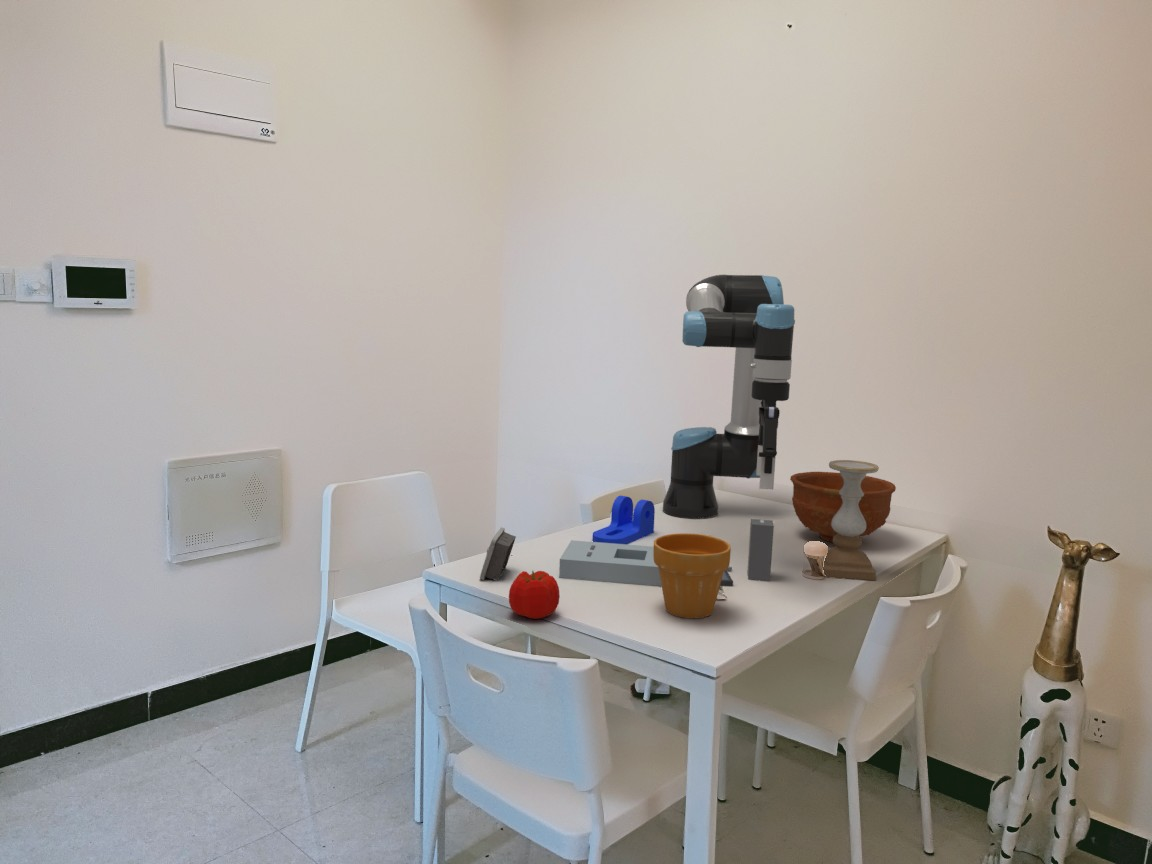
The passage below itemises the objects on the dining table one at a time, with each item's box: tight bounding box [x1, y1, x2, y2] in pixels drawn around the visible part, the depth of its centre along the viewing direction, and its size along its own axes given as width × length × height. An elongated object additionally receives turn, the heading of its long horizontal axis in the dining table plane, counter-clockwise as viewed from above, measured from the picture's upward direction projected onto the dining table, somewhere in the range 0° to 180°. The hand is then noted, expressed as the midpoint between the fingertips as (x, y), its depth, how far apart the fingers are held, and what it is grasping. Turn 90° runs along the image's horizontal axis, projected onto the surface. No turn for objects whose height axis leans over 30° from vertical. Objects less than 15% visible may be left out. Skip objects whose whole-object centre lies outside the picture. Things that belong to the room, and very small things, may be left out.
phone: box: [720, 570, 734, 587], centre depth 173 cm, size 7×14×1 cm, turn 91°
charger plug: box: [746, 518, 775, 582], centre depth 175 cm, size 4×4×12 cm
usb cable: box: [726, 566, 733, 572], centre depth 182 cm, size 15×1×1 cm, turn 71°
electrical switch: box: [479, 527, 517, 581], centre depth 172 cm, size 9×5×9 cm, turn 173°
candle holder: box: [823, 459, 880, 582], centre depth 180 cm, size 11×11×24 cm
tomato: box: [508, 570, 561, 620], centre depth 151 cm, size 9×9×8 cm
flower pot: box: [653, 532, 732, 619], centre depth 155 cm, size 14×14×13 cm
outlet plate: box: [558, 539, 662, 587], centre depth 176 cm, size 14×22×4 cm, turn 81°
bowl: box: [789, 471, 897, 543], centre depth 206 cm, size 25×25×15 cm
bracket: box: [591, 495, 656, 545], centre depth 202 cm, size 18×8×9 cm, turn 145°
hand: (764, 482), depth 173 cm, fingers open, 13 cm apart
